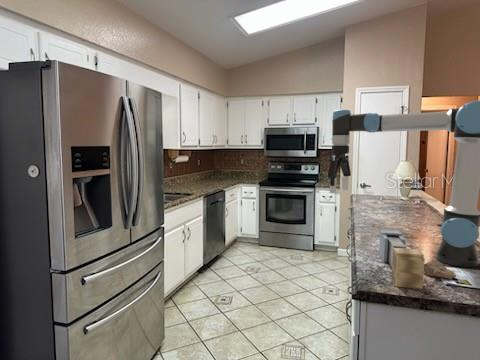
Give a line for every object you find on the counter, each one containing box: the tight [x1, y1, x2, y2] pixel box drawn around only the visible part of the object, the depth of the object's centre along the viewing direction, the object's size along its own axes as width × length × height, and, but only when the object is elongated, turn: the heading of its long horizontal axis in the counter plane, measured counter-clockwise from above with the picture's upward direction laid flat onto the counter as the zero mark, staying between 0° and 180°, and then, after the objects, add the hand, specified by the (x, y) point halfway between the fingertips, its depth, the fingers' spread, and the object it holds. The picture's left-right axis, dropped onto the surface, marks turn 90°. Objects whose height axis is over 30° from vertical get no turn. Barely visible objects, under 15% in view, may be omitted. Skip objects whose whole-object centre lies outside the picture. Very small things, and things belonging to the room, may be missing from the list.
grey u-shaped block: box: [378, 229, 406, 263], centre depth 142 cm, size 8×11×11 cm
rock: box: [424, 260, 457, 280], centre depth 125 cm, size 9×6×10 cm
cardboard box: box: [391, 248, 425, 290], centre depth 117 cm, size 8×7×12 cm
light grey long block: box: [386, 235, 407, 268], centre depth 138 cm, size 5×18×9 cm, turn 167°
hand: (339, 191), depth 152 cm, fingers open, 13 cm apart
